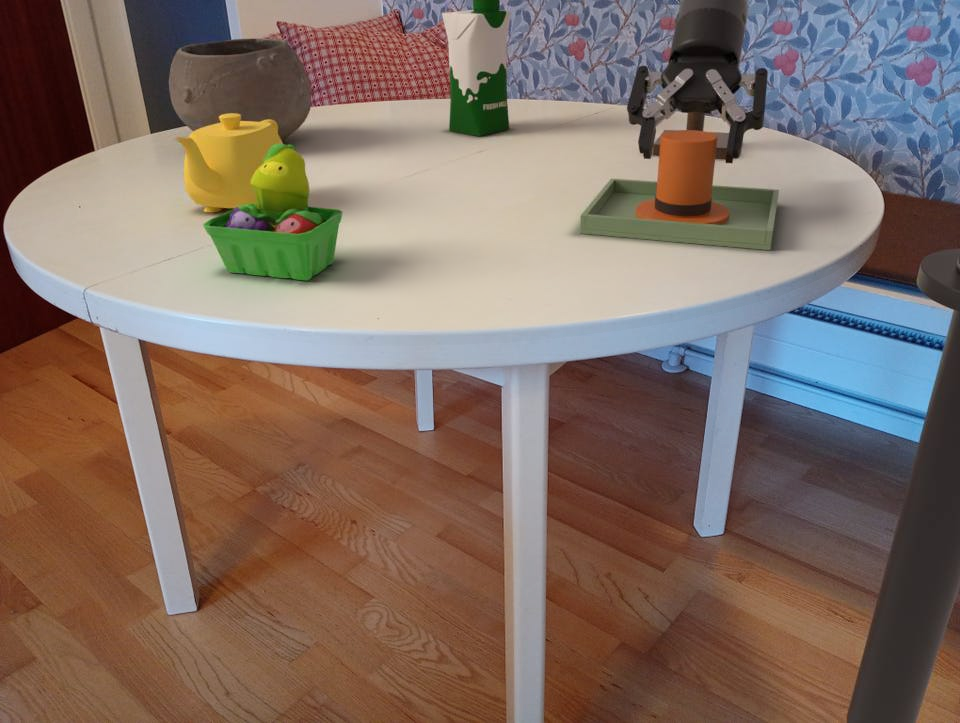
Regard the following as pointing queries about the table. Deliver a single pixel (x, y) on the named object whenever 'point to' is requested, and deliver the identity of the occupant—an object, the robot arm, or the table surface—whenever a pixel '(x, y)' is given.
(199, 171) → the teapot
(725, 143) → the stand
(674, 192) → the hat
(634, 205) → the tray
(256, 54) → the clay pot
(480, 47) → the milk carton
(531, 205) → the table surface
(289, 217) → the fruit basket
